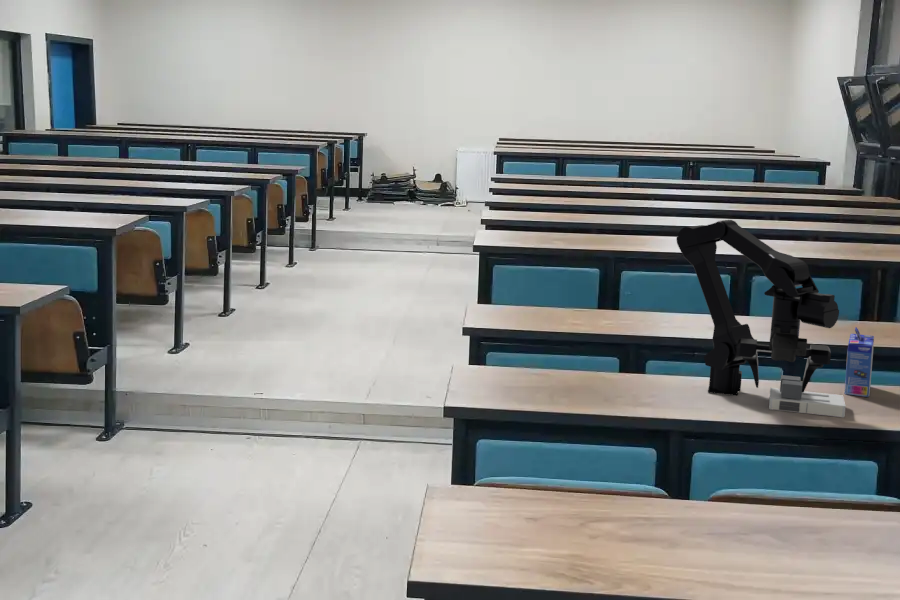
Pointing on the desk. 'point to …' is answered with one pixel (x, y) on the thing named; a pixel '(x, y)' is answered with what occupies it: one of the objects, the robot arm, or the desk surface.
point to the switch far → (790, 378)
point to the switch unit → (808, 403)
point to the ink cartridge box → (859, 364)
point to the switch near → (791, 389)
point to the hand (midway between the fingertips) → (779, 389)
